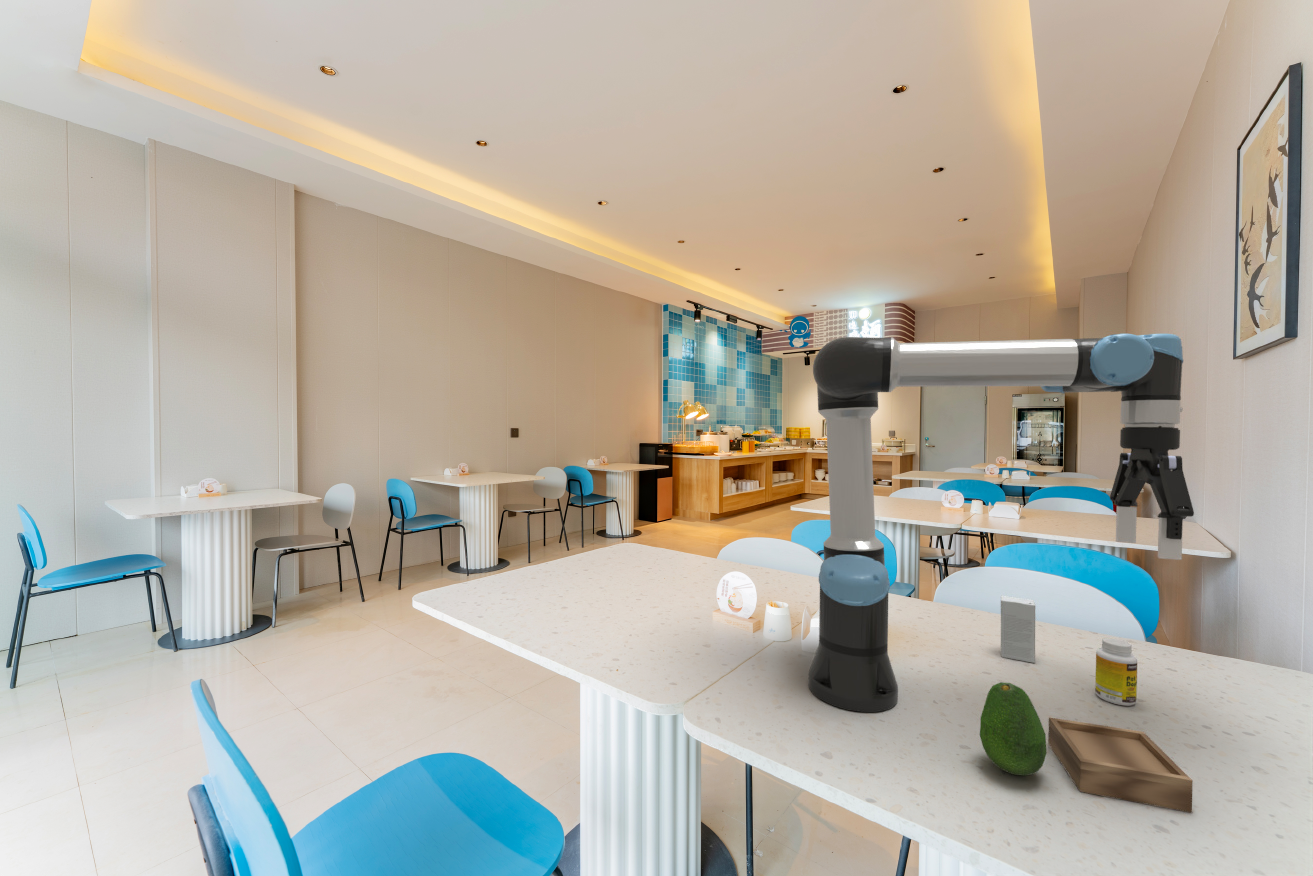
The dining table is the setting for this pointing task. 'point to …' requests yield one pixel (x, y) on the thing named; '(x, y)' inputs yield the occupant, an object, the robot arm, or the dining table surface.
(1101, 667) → the supplement bottle
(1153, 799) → the wooden tray
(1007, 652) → the skincare box
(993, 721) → the avocado
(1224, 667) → the dining table surface
